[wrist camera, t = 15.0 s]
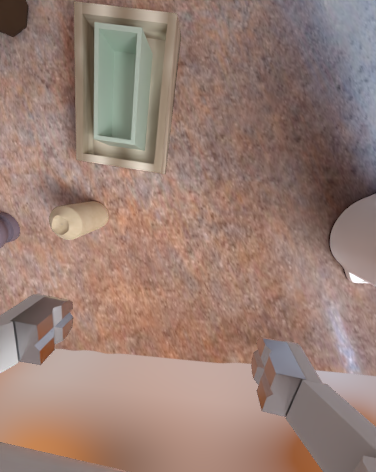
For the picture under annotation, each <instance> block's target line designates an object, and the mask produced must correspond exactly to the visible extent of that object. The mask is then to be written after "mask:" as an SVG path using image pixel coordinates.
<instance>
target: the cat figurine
mask: <svg viewBox="0 0 376 472" xmlns="http://www.w3.org/2000/svg"><path fill="white" fill-rule="evenodd" d="M19 234H20V227H19V225H18V222H17V221H16V220H15V218H13V217H12V216H11V215H9V214H7V213H3V212H1V213H0V248H1V247H3V245H4V244H5V243H7V242H10V241H14V240H15V239H17V238H18V236H19Z"/></svg>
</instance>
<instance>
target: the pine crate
mask: <svg viewBox="0 0 376 472" xmlns="http://www.w3.org/2000/svg"><path fill="white" fill-rule="evenodd" d="M95 22H99V23H107V24H115V25H123V26H132V27H140V28H142V29H143V31H144V34H145V36H146V39H147V41H148V43H149V46H150V48H151V51H152V53H153V55H152V68H151V81H150V93H149V106H148V118H147V131H146V144H145V151H143V150H136V149H130V148H123V147H116V146H110V145H107V144H105V143H102V142H100V141H97V140H95V139H94V23H95ZM180 41H181V33H180V27H179V21H178V15H177V13H170V12H162V11H153V10H144V9H136V8H127V7H119V6H110V5H102V4H93V3H85V2H76V1H74V54H75V116H76V160H79V161H85V162H90V163H97V164H103V165H109V166H116V167H122V168H128V169H135V170H141V171H147V172H154V173H160V174H166V166H167V157H168V148H169V139H170V130H171V121H172V112H173V103H174V94H175V85H176V77H177V68H178V59H179V50H180Z"/></svg>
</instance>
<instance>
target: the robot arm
mask: <svg viewBox="0 0 376 472" xmlns="http://www.w3.org/2000/svg"><path fill="white" fill-rule="evenodd" d="M330 248H331V251H332V254H333V256H334V257H335V259H336V260H337V261H338V262H339V263H340V264H341V265H342V266H343V268H344V270H345V274H346V277H347V278H348V280H350V281H352V282H354V283H370V284H372V285H374V286H376V193H375V194H373V195H371V196H368V197H366V198H363V199H361V200H359V201H357V202H355V203H354V204H352V205H351V206H349V207H348V208H347V209H346V210H345V211H344V212H343V213H342V214H341V215H340V216H339V218H338V219H337V220H336V222H335V224H334V226H333V228H332V231H331V235H330ZM72 309H73V304H72V302H71V301H70V300H66V299H61V298H57V297H52V296H46V295H42V294H33V295H32V296H30V297H28V298H27V299H25V300H24V301H22V302H21V303H19V304H17V305H16V306H14V307H13V308H11V309H10V310H8V311H7V312H5V313H3V314H2V315H0V373H1V372H3V371H5V370H7V369H8V368H10V367H12V366H14V365H15V364H17V363H18V361H20V362H26V363H32V364H38V365H41V364H42V363H43V362H44V361H45V360H46V359H47V357H48V356H49V355H50V354H51V353H52V352H53V351H54V350H55V344H57V343H59V342H61V341H63V340H64V339H65V338H66V337H67V335H68V334H69V332H70V330H71V328H72V325H73V316H72V315H71V314H70V311H71V310H72ZM256 345H257V348H258V350H256V351H255V352H254V353H253V357H252V365H251V366H252V374H253V378H254V380H255V381H256V383H257V384H258V385H259V386H258V389H257V395H258V398H259V402H260V406H261V410H262V411H263V412H267V413H271V414H276V415H280V416H284V417H286V419H287V421H288V422H289V424H290V425H291V427H292V428H293V430H295V432H296V434H297V435H298V437H299V438H300V440H301V441H302V442H303V444H304V445H305V447H306V448H307V449H308V451H309V452H310V454H311V455H312V457H313V458H314V460H315V461H316V462H317V464H318V465H319V467H320V468H321V470H322V471H323V472H376V427H375V426H374V425H373V424H372V423H371V422H369V421H368V420H367V419H366V418H365V417H364V416H363V415H362V414H360V413H359V412H358V411H357V410H356V409H355V408H354V407H352V406H351V405H350V404H349V403H348V402H347V401H346V400H344V399H343V398H342V397H341V396H340V395H338V394H337V393H336V392H335V391H334V390H333V389H332V388H331V387H329V386H328V385H327V384H323V383H322V382H321V380H320V378H319V377H318V375H317V373H316V371H315V370H314V368H313V366H312V365H311V363H310V361H309V360H308V358H307V356H306V355H305V353H304V351H303V350H302V348H301V346H300V345H299V344H298V343H294V342H288V341H281V340H275V339H270V338H264V337H259V339H258V340H257V343H256ZM0 472H128V471H124V470H119V469H114V468H111V467H106V466H102V465H98V464H93V463H89V462H84V461H80V460H76V459H71V458H67V457H63V456H58V455H54V454H50V453H45V452H41V451H36V450H32V449H28V448H24V447H19V446H15V445H11V444H6V443H2V442H0Z"/></svg>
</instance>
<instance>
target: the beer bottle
mask: <svg viewBox="0 0 376 472" xmlns="http://www.w3.org/2000/svg"><path fill="white" fill-rule="evenodd" d="M27 15H28V4H27V2H26V0H0V32H2V33H5V34H7V35H10V36H13V37H14V36H16V35H17V34H18V33H19V32H21V31H22V30H23V29H25V28H26V26H27Z"/></svg>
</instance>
